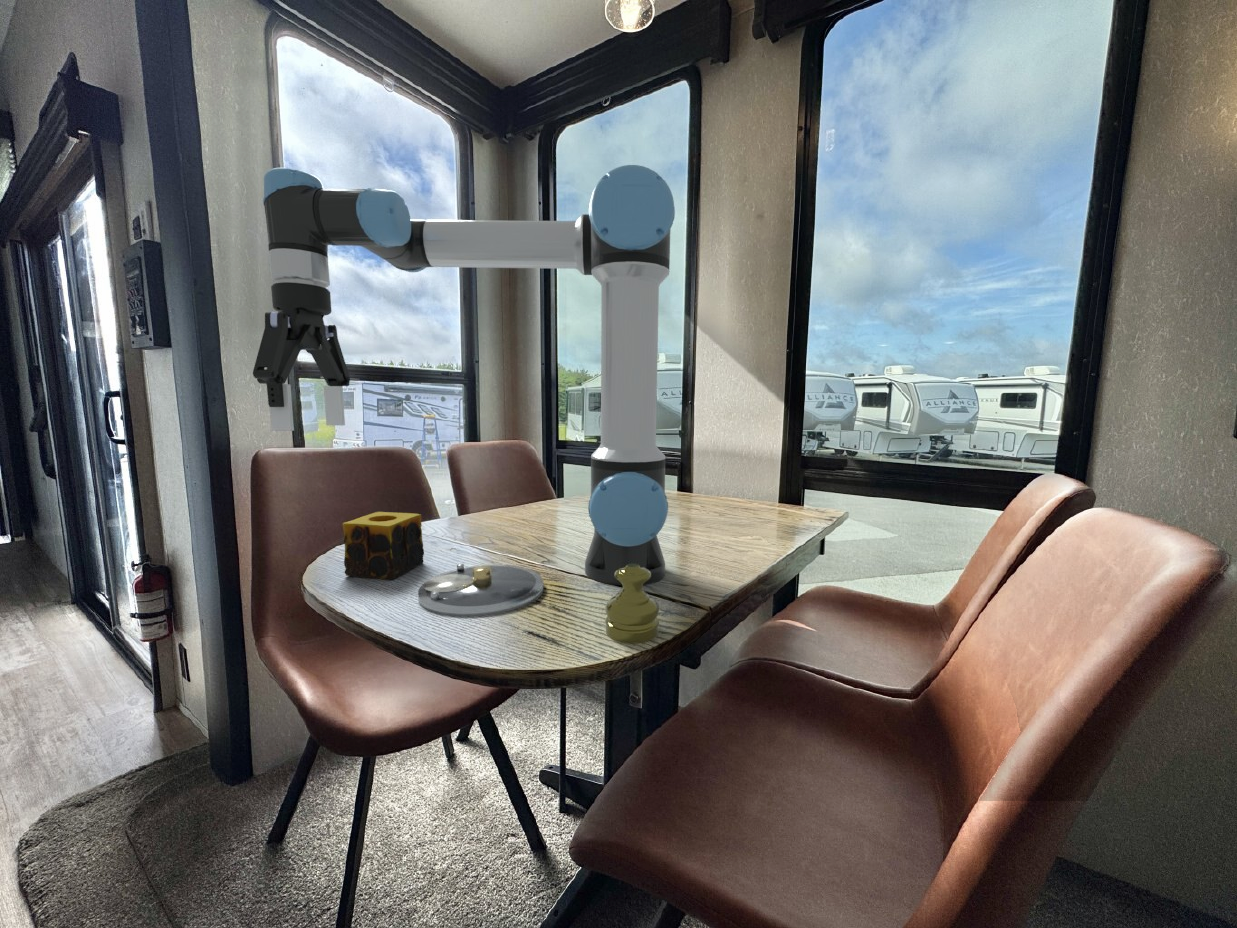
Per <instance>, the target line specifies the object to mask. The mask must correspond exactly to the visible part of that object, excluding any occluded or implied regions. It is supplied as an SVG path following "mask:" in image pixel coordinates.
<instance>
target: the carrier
mask: <svg viewBox="0 0 1237 928" xmlns="http://www.w3.org/2000/svg"><path fill="white" fill-rule="evenodd" d="M543 593H544V579H543V578H542V576H541V574H539V573H538V572H536V571H534V570H533V569H532V570H531V569H529V568H525V567H521V566H516V565H507V564H486V565H485V564H483V565H475V566H467V567H465V564H464V563H457V564H456V569H451V570H449V571H445V572H443V573H440V574H437V575H435V576H433V577H431V578H429V579H428V580H426V581H424V583H422V584H421V585H420V586H419V588H418V591H417V598H418V599H417V600H418V604H420V606H421V607H423V608H424V609H425V610H428V611H430V612H433V613H436V614H440V615H445V616H456V617H478V616H487V615H488V616H489V615H490V616H491V615H497V614H501V613H507V612H510V611H514V610H518V609H520V608H523V607H526V606H528V605H530V604H532V603H534V602H535V601H537V600H538V599H540V598H541V596H542V594H543Z"/></svg>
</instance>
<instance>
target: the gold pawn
mask: <svg viewBox="0 0 1237 928" xmlns="http://www.w3.org/2000/svg"><path fill="white" fill-rule="evenodd" d="M614 576H615V578H616V579H617V580H619V581H620V582H621V583H622V585H621V586H622V589H620V591H618V592H617V593H616V594H615V595H614V596H612V597H611V598H609V599H608V600H607V602H606V603H605V606H604V608H605V614H606V617H605V619H604V621H605V635H606V636H607V637H608V638H610V639H611V640H613V641H616V642H619V643H625V644H641V643H643V644H644V643H647V642H651V641H652V640H655V639H656V638H657V637H658V635H659V625H660V619H659V618H658V616H659V614H660V613H659V612H660V604H659V603H658V601H657V600H656V599H655V598H653V597H651V596H650V595H649V593H647V592H646V591H645V590H644V588H643V587H644V585H643V584H644V583H645V582H646V581H647V580H649V579H650V577H651V572H650V571H649V570H648V569H646V568H644V567H642V566H639V565H638V564H635V563H631V564H627V565H626V566H623V567H621V568H619V569H617V570H616V571H615V574H614ZM656 636H657V637H656ZM655 637H656V638H655Z"/></svg>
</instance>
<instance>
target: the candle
mask: <svg viewBox="0 0 1237 928" xmlns="http://www.w3.org/2000/svg"><path fill="white" fill-rule="evenodd" d="M342 530H343V534H344V535H343V537H344V538H343V539H344V540H343V544H344V561H343V564H344V565H343V566H344V568H345V570H344V573H345V576H348V577H352V578H353V577H354V578H363V579H381V580H387V581H394V580H396V579H397V578H399V577H402V576H403V575H405V574H406V573H408V572H410V571H412V570H414V569H416V568H417V567H419V566H420V565H422V564H423V563H424V556H425V555H424V554H425V551H424V541H423V531H422V514H421V513H420V514H419V513H411V512H393V511H392V512H389V511H386V512H385V511H375V512H372V513H369V514H366V515H363V516H361V517H358V518H355V519H352V520H349V521H345V522H342Z"/></svg>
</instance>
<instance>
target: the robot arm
mask: <svg viewBox="0 0 1237 928" xmlns="http://www.w3.org/2000/svg"><path fill="white" fill-rule="evenodd" d="M590 197H591V198H590V201H589V205H588V214H586V213H585V214H583V213H582V214H581V215H580V216H579V217H578V218H577V219H576V220H500V219H499V220H495V219H494V220H493V219H491V220H490V219H487V220H485V219H483V220H481V219H479V220H478V219H477V220H476V219H475V220H474V219H470V220H469V219H411V216H410V210H409V208H408V206H407V204H406V202H405V199H404V198H403V197H402V195H401V194H400V193H398V192H397V191H394V190H389V189H388V190H387V189H379V188H376V187H372V188H371V187H369V188H324V185H323V182H322V181H321V180H320V178H318V177H317V176H316V175H313V174H311V173H309V172H307V171H303V170H301V169H291V168H288V167H275V168H271V169H269V170H267V171H266V172H265V174H264V176H263V200H262V204H263V206H264V213H265V220H266V231H267V242H268V243H267V245H268V255H269V257H268V258H269V263H268V264H269V265H268V266H269V269H270V271H269V273H270V279H271V280H272V281H273V282H274V283H273V284H272V285H271V287H270V288H271V302H272V303H271V304H272V308H273V310H275V311H266V312H265V313H264V330H263V333H262V337H261V341H260V344H259V348H258V351H257V356H256V359H255V363H254V367H253V370H252V375H253V378H255V379H256V381H257V382H258V384H260V385H261V384H265V385H266V390H267V392H266V393H267V404H268V406H269V417H270V418H269V419H270V428H271V430H270V431H271V432H293V431H295V426H294V413H293V411H294V410H293V400H292V389H291V387H292V385H291V383H290V384H285V383H286V382H287V380H288V378H289V375H290V374H291V371H292V369H293V367H294V365H295V363H296V361H297V359H298V356H299V355H300V353H301V351H302V350H304V351H306V353H308V354H310V355H311V356H312V358H313V360H314V362H315V364H316V366H317V367H318V369H319V371H320V373H321V375H322V377H323V379H324V381H325V383H326V384H327V385H324V386H323V394H324V395H323V396H324V407H325V410H324V411H325V422H326V423H325V425H326V426H346V420H345V419H346V418H345V407H344V406H345V404H344V391H343V390H344V389H343V388H344V387H349V386H350V382H351V376H350V374H349V373H350V372H349V370H348V367H347V364H346V361H345V360H346V359H345V358H344V354H343V351H342V348H341V345H340V342H339V338H338V330H337V329H338V328H337V326H336V325H335V324H325V321H324V318H325V316H330V315H331V313H332V300H331V299H332V298H331V297H332V296H331V291H330V290H329V289H328V287H329V286H331V283H330V282H331V280H330V269H329V256H328V253H329V252H328V251H329V250H328V246H345V247H347V246H349V247H350V246H353V247H355V246H356V247H362V248H364V249H365V250H367V251H369V252H371V253H373V254H374V255H376V256H378V257H379V258H381V259H382V260H384V261H386V262H387V263H388V264H390V265H391V266H393V267H394V268H396V269H397V270H401V271H404V272H407V273H419V272H421V271H424V270H425V269H426V268H474V269H475V268H478V269H479V268H481V269H483V268H484V269H485V268H486V269H487V268H488V269H490V268H491V269H492V268H493V269H495V268H496V269H499V268H500V269H563V270H566V269H567V270H568V269H570V270H571V269H572V270H573V269H575V270H577V271H578V272H579V273H580V274H582V276H593V278H594V279H595V280H597V282H598V284H600V286H601V291H600V292H601V294H600V295H601V298H600V299H601V301H600V302H601V306H600V307H601V309H600V310H601V311H600V312H601V313H600V315H601V319H600V321H601V325H600V329H601V331H600V333H601V336H600V340H601V341H600V355H601V356H600V367H601V368H600V444H599V446H598V448H596V449H595V451H594V452H593V453H591V456H590V499H589V500H588V504H587V505H588V506H587V507H588V510H587V511H588V516H589V518H590V521H591V524H592V526H593V528H594V529H593V531H594V532H593V536H592V539H591V543H590V545H589V548H588V551H587V554H586V558H585V559H584V561H585V562H584V574H585V575H586V576H587V577H588V578H589V579H591V580H593V581H596V582H599V583H603V584H607V585H614V586H623V585H622V583H621V582H620V581H619V580H617V579H616V578H615V576H614V574H615V571H616V570H617V569H619V568H621V567H623V566H626V565H627V564H631V563H635V564H638V565H639V566H642V567H644V568H646V569H648V570H649V571H650V572H651V577H650V579H649V580H647V581H646V582H645V583H644V584H643V586H647V585H652V584H655V583H658V582H660V581H661V580H663V579H664V578H665V577H666V561H665V557H664V555H663V551H662V549H661V545H660V542H659V541H660V540H659V538H658V534H659V533H660V532H661V531H662V529H663V527H664V526H665V524H666V522H667V516H668V512H669V502H668V499H667V498H668V497H667V494H666V493H665V492H666V490H665V489H666V455H665V454H664V453H663V452H662V451H661V449H659V448H658V446H657V442H656V441H657V409H658V408H657V406H658V405H657V404H658V403H657V398H658V396H657V394H658V354H659V353H658V347H659V346H658V345H659V344H658V342H659V305H660V304H659V300H660V299H659V296H660V295H659V294H660V292H659V291H660V285H661V284H662V283H663V282H664V280H666V279H667V278H668V277H669V276H670V263H671V262H670V261H671V260H670V257H671V228H672V226H673V224H674V221H675V216H676V210H675V201H674V197H673V193H672V190H671V188H670V186H669V184H668V183H667V181H666V180H665V179H664V178H663V177H662V176H661V175H660V174H658V172H656V171H655V170H653V169H651V168H649V167H646V166H644V165H638V164H627V165H621V166H617V167H616V168H615V167H614V168H613V169H612V170H609V171H608V172H607V173H606V174H604V175H603V176H602V177H601V179H599V180H598V182H597V183H596V185H595V186H594V189H593V191H592V193H591V196H590ZM265 368H266V369H265Z"/></svg>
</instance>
